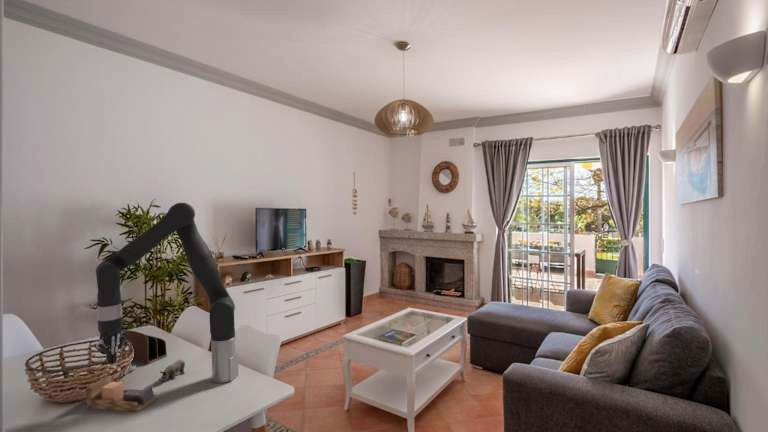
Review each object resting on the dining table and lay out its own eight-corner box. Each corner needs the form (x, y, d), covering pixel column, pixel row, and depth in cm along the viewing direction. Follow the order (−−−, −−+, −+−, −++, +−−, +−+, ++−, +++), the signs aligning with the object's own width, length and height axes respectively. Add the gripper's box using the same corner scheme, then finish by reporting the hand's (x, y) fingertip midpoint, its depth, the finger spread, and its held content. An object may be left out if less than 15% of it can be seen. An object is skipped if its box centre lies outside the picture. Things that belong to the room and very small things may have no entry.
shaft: (152, 397, 146) (152, 386, 146) (144, 404, 142) (143, 392, 142) (131, 396, 147) (131, 384, 147) (122, 402, 143) (122, 390, 143)
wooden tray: (156, 398, 149) (155, 378, 148) (138, 411, 140) (137, 390, 139) (107, 395, 151) (106, 375, 151) (87, 408, 142) (86, 387, 142)
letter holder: (147, 365, 178) (146, 334, 177) (117, 358, 185) (115, 328, 184) (167, 356, 187) (166, 327, 186) (137, 350, 194) (136, 322, 193)
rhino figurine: (154, 385, 159) (154, 371, 158) (180, 370, 172) (179, 357, 172) (163, 387, 158) (162, 372, 157) (188, 371, 171) (187, 358, 171)
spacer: (123, 396, 148) (122, 382, 147) (114, 403, 143) (113, 388, 143) (112, 396, 148) (111, 381, 148) (102, 402, 144) (102, 387, 144)
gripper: (104, 323, 137) (106, 372, 138) (133, 311, 150) (135, 356, 151) (84, 322, 138) (87, 370, 139) (115, 310, 151) (117, 355, 152)
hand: (112, 363), depth 145 cm, fingers closed
